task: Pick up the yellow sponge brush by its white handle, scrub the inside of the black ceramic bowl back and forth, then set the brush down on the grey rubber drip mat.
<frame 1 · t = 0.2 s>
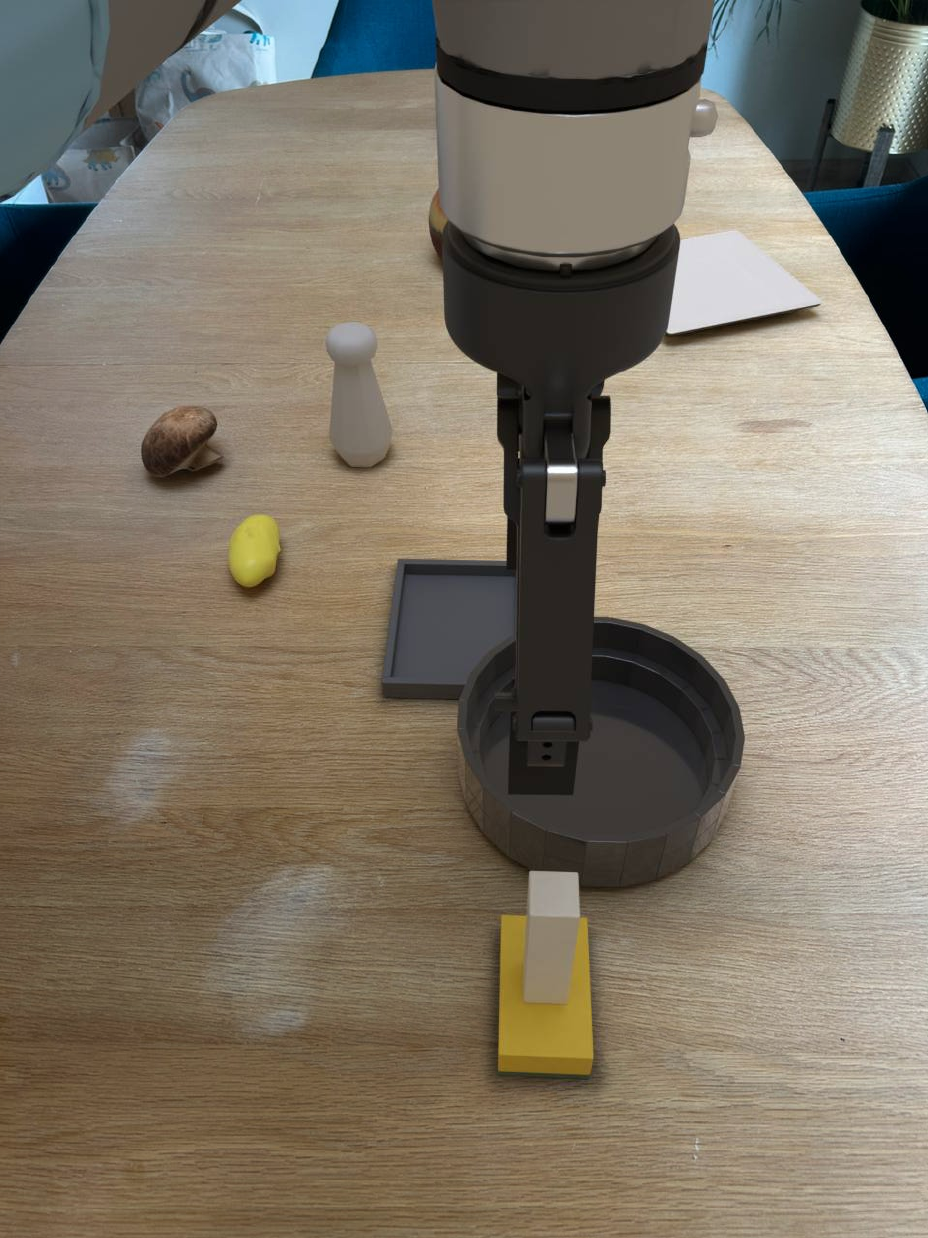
hand: (536, 665, 46), 22 cm above the table, tool pointing down, fingers open, 13 cm apart
salt shaker: (363, 456, 94), on the table
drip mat: (456, 633, 78), on the table
plate: (703, 294, 114), on the table
sponge brush: (542, 1005, 57), on the table
bowl: (592, 772, 68), on the table
jug: (524, 141, 145), on the table
vase: (476, 260, 120), on the table
yellow potato: (258, 568, 83), on the table
mushroom: (187, 467, 93), on the table
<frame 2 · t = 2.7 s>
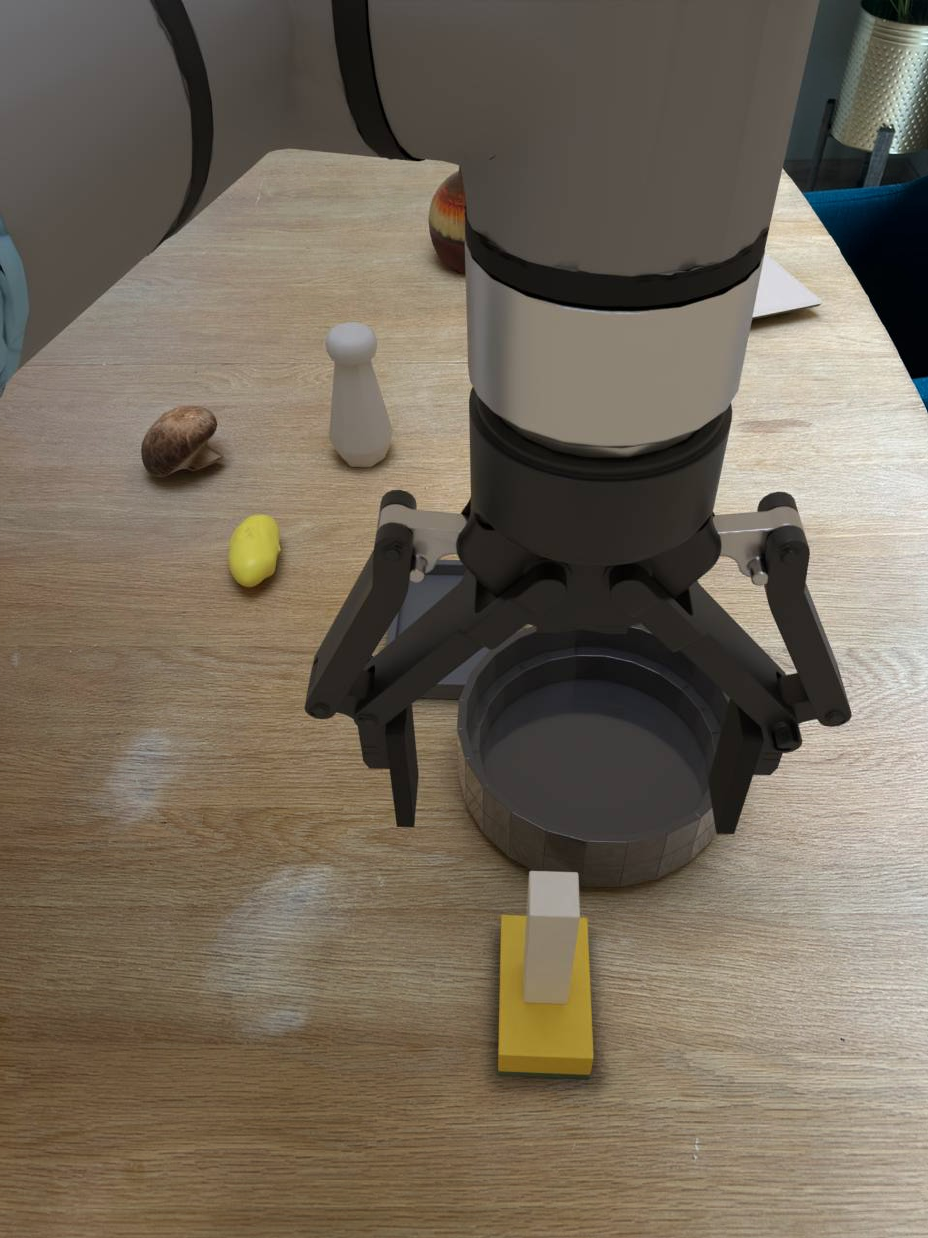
hand: (563, 804, 44), 20 cm above the table, tool pointing down, fingers open, 13 cm apart
nothing on the table moved.
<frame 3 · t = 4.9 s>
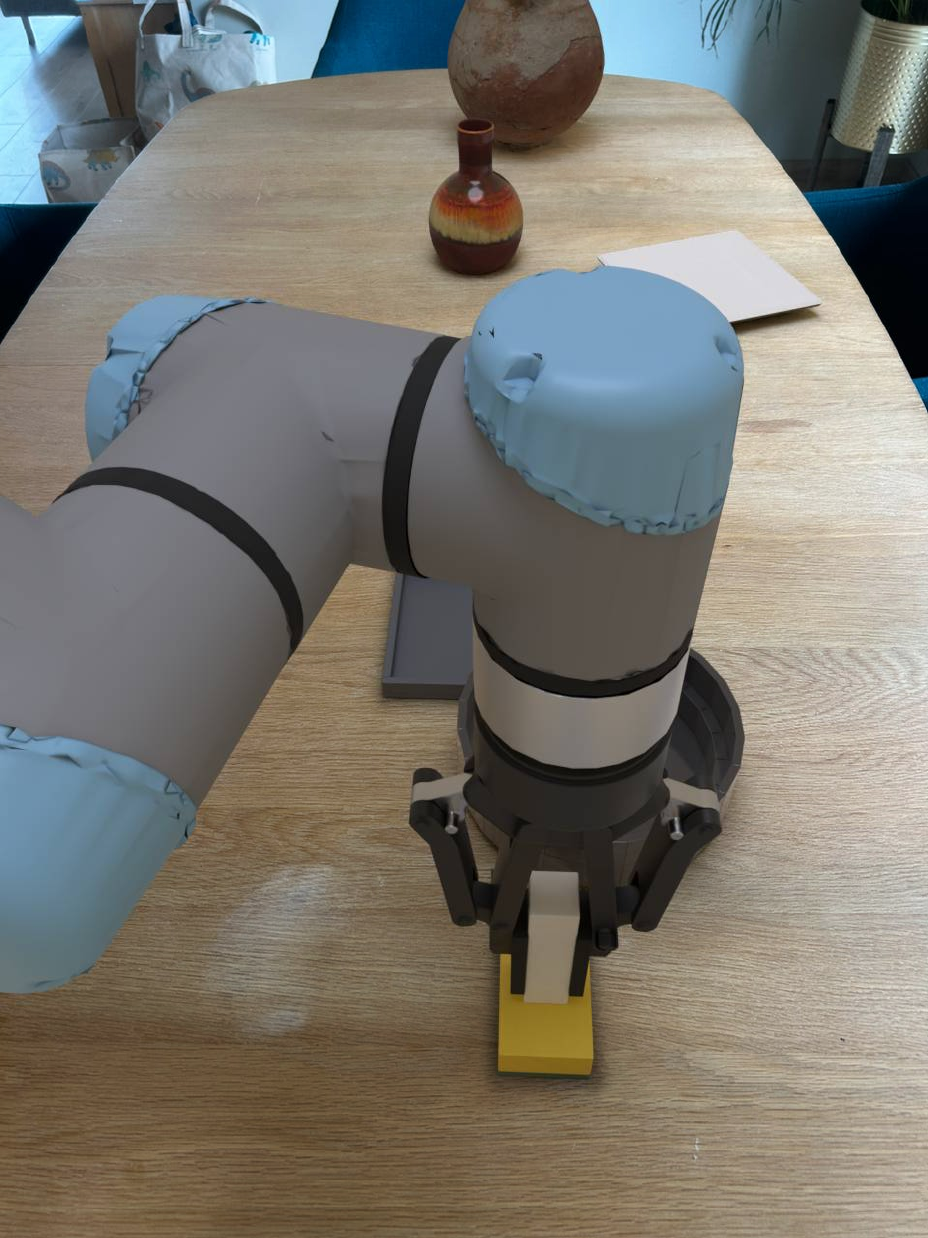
hand: (546, 970, 54), 5 cm above the table, tool pointing down, fingers closed on sponge brush, 2 cm apart
sponge brush: (542, 1005, 57), on the table, touching gripper
everything else where it was.
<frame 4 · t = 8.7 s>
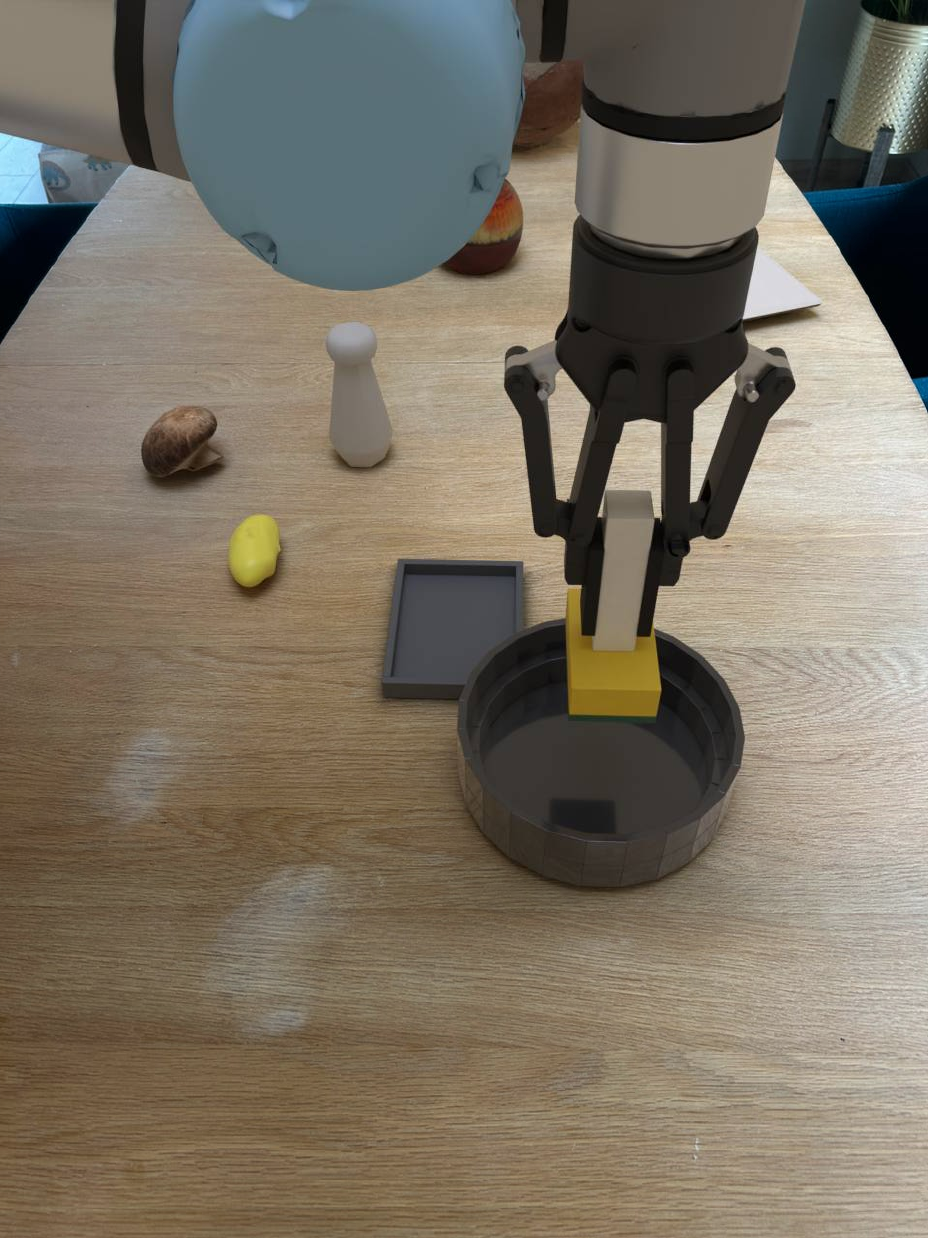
hand: (614, 618, 57), 15 cm above the table, tool pointing down, fingers closed on sponge brush, 2 cm apart
sponge brush: (607, 670, 61), point 11 cm above the table, touching gripper
everything else where it was.
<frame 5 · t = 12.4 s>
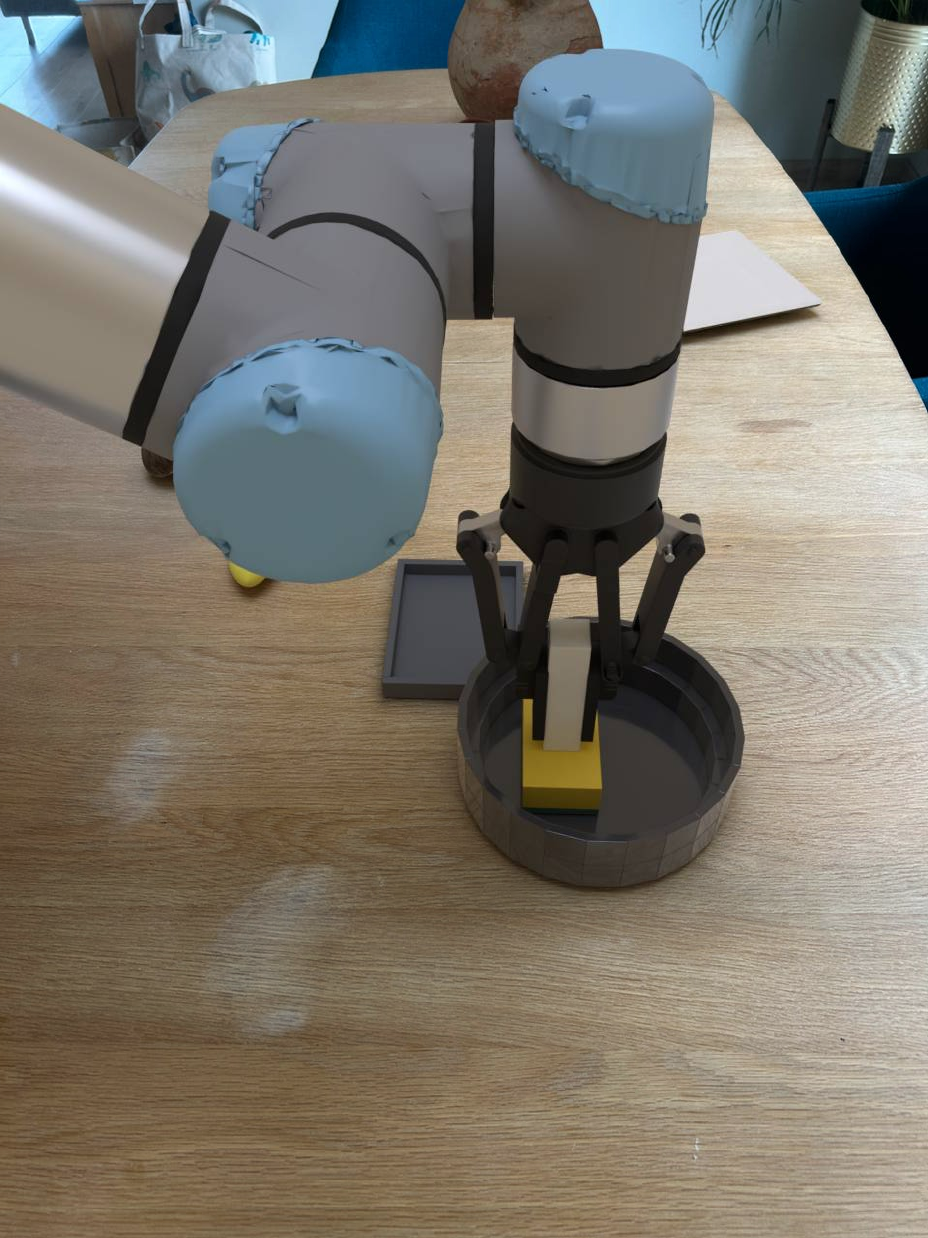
hand: (562, 724, 65), 5 cm above the table, tool pointing down, fingers closed on sponge brush, 2 cm apart
sponge brush: (558, 763, 68), point 1 cm above the table, touching gripper
everything else where it was.
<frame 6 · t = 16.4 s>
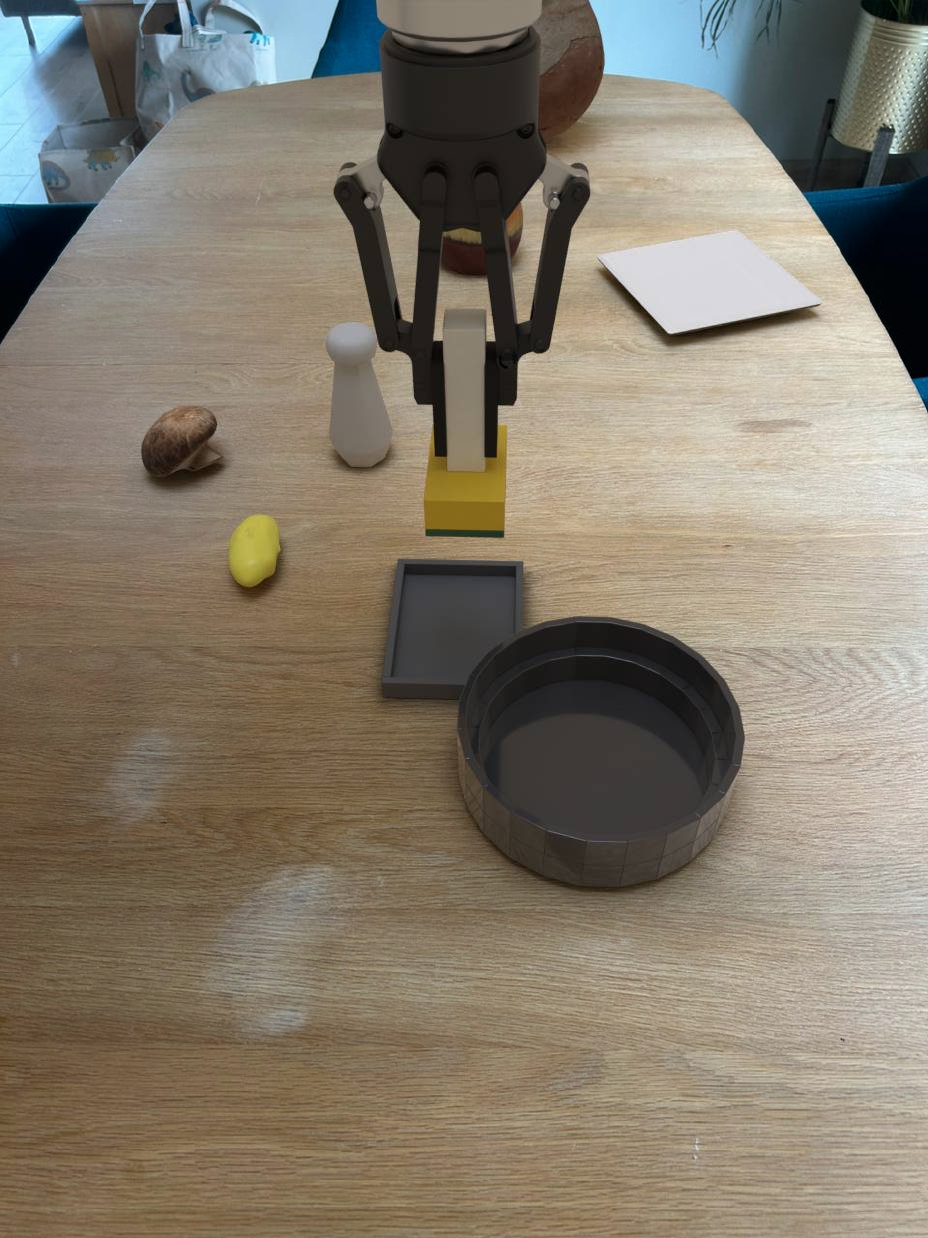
hand: (466, 443, 63), 19 cm above the table, tool pointing down, fingers closed on sponge brush, 2 cm apart
sponge brush: (467, 497, 66), point 15 cm above the table, touching gripper
everything else where it was.
when the fingers open (5 cm above the table, at t = 19.7 s): sponge brush stays where it is, resting on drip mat.
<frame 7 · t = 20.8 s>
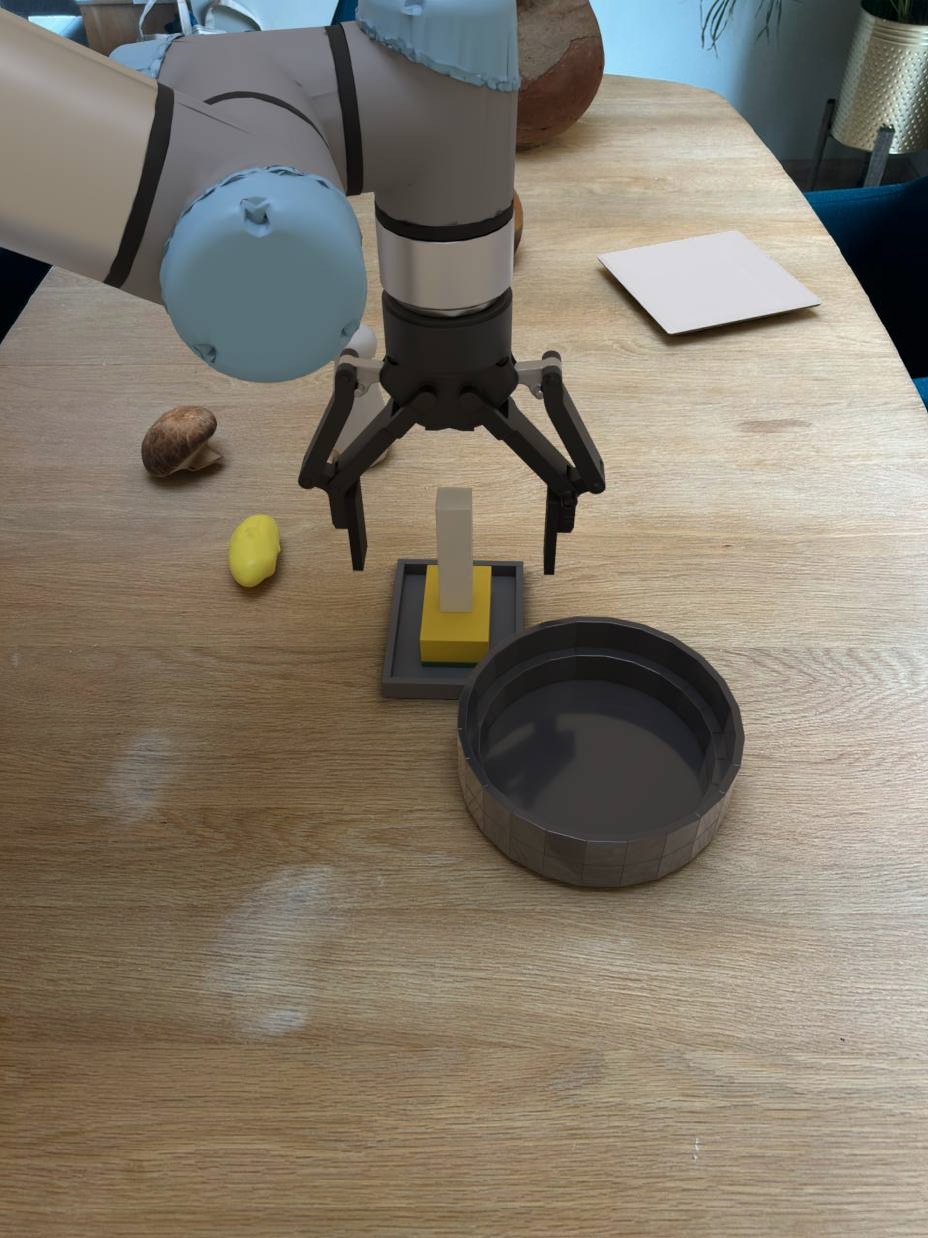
hand: (454, 560, 72), 8 cm above the table, tool pointing down, fingers open, 13 cm apart
sponge brush: (457, 628, 77), resting on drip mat
everything else where it was.
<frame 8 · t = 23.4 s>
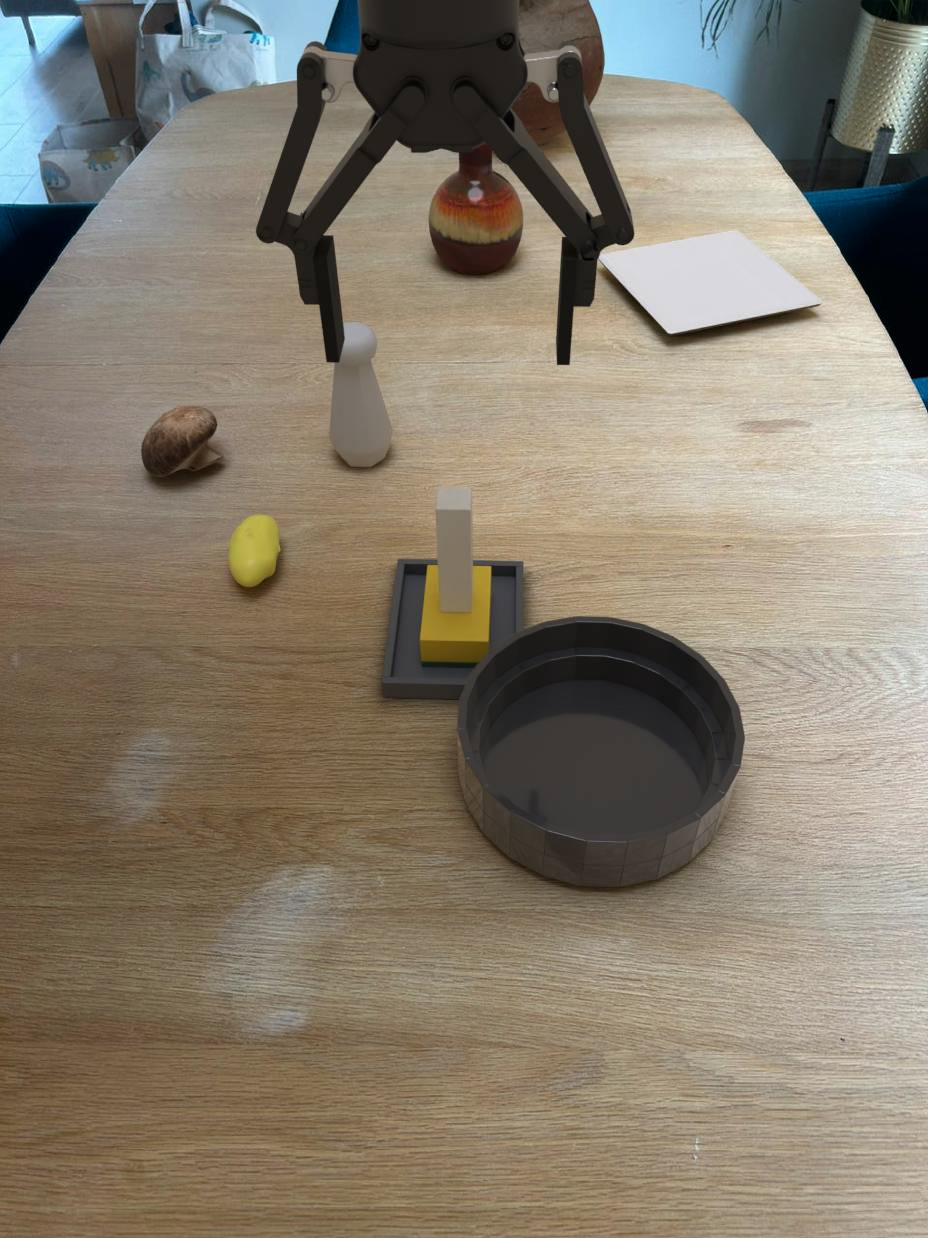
hand: (448, 352, 60), 25 cm above the table, tool pointing down, fingers open, 13 cm apart
nothing on the table moved.
at the end: sponge brush 0.1 cm off-centre in the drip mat, point 0.5 cm above the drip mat's base; sponge brush tilted 0°; the gripper is holding nothing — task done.
